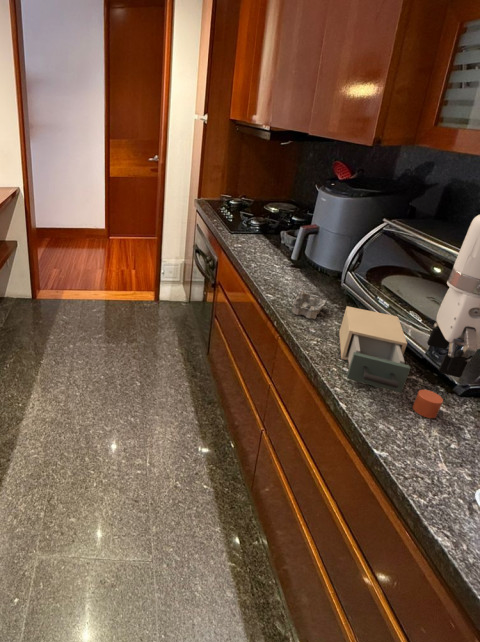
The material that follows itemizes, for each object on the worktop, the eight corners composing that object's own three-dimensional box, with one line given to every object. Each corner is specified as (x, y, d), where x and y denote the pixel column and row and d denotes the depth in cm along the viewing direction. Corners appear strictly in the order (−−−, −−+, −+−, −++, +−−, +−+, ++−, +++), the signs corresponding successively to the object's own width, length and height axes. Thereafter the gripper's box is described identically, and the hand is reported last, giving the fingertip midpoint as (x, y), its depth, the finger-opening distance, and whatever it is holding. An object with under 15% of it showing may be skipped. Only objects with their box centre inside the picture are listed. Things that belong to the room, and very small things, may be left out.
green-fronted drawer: (404, 406, 81) (414, 380, 78) (347, 389, 86) (355, 365, 83) (392, 361, 95) (400, 338, 92) (344, 349, 99) (350, 327, 96)
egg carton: (300, 300, 125) (302, 289, 123) (325, 308, 120) (328, 297, 118) (287, 312, 118) (290, 300, 116) (314, 321, 113) (317, 309, 111)
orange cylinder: (431, 406, 82) (437, 391, 80) (440, 420, 78) (447, 405, 77) (409, 402, 83) (415, 387, 82) (417, 415, 80) (423, 400, 78)
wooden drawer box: (396, 372, 92) (407, 343, 89) (341, 358, 97) (349, 330, 94) (388, 343, 103) (397, 316, 100) (339, 332, 108) (346, 306, 105)
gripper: (525, 309, 61) (482, 394, 68) (487, 269, 75) (454, 342, 82) (464, 297, 64) (428, 379, 71) (438, 261, 78) (410, 332, 85)
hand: (442, 359), depth 76 cm, fingers open, 9 cm apart
